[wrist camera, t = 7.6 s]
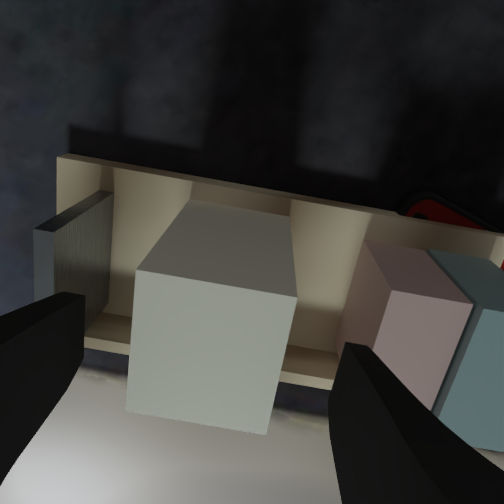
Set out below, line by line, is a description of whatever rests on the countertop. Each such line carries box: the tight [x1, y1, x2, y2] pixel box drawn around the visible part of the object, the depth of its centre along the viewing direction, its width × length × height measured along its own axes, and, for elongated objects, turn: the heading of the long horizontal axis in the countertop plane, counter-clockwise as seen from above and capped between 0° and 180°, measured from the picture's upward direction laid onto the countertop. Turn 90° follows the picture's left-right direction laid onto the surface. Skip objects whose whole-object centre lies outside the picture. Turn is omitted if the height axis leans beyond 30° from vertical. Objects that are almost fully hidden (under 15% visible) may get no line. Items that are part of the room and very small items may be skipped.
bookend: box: [33, 190, 114, 334], centre depth 16 cm, size 1×5×5 cm, turn 170°
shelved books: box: [335, 239, 504, 452], centre depth 16 cm, size 5×5×5 cm
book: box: [125, 199, 298, 435], centre depth 15 cm, size 4×4×7 cm
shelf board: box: [57, 153, 504, 390], centre depth 18 cm, size 18×7×3 cm, turn 81°
